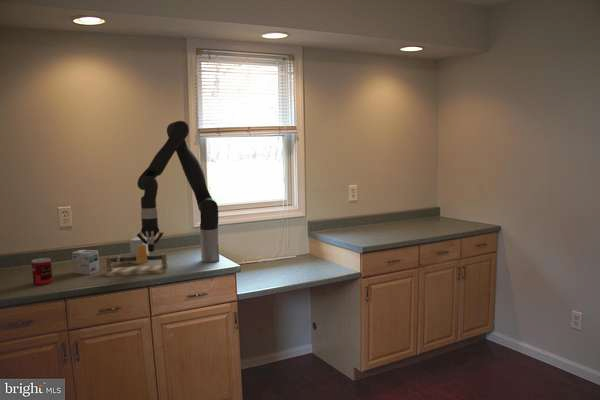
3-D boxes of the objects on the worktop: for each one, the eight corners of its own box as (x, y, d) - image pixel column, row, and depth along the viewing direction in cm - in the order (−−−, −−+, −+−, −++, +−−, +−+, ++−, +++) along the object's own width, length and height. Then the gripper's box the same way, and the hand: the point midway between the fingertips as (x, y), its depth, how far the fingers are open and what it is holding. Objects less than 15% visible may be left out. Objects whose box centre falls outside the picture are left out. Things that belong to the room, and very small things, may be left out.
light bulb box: (100, 271, 243) (98, 250, 242) (90, 275, 237) (88, 253, 236) (82, 270, 247) (81, 249, 246) (72, 273, 241) (71, 252, 239)
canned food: (37, 281, 228) (35, 258, 227) (55, 280, 229) (53, 257, 228) (30, 286, 221) (28, 262, 219) (48, 285, 222) (46, 261, 220)
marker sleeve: (148, 261, 244) (147, 244, 243) (147, 263, 240) (146, 246, 239) (138, 261, 243) (137, 244, 242) (136, 263, 239) (135, 246, 238)
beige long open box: (168, 267, 249) (167, 251, 248) (165, 272, 239) (164, 255, 238) (110, 270, 245) (109, 254, 244) (105, 276, 235) (104, 259, 234)
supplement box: (149, 260, 264) (148, 237, 263) (144, 263, 257) (142, 240, 255) (136, 260, 265) (135, 237, 264) (130, 263, 258) (129, 240, 256)
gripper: (164, 215, 244) (166, 249, 246) (136, 216, 242) (138, 250, 244) (162, 217, 237) (164, 252, 239) (133, 218, 235) (136, 254, 237)
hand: (151, 251), depth 242 cm, fingers closed
